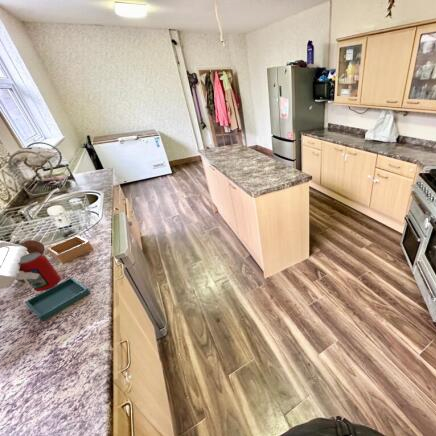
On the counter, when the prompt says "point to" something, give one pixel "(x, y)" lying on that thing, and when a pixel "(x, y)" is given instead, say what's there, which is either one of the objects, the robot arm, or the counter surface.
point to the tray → (57, 298)
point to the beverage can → (43, 266)
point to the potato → (33, 246)
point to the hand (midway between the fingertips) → (40, 269)
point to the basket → (70, 249)
